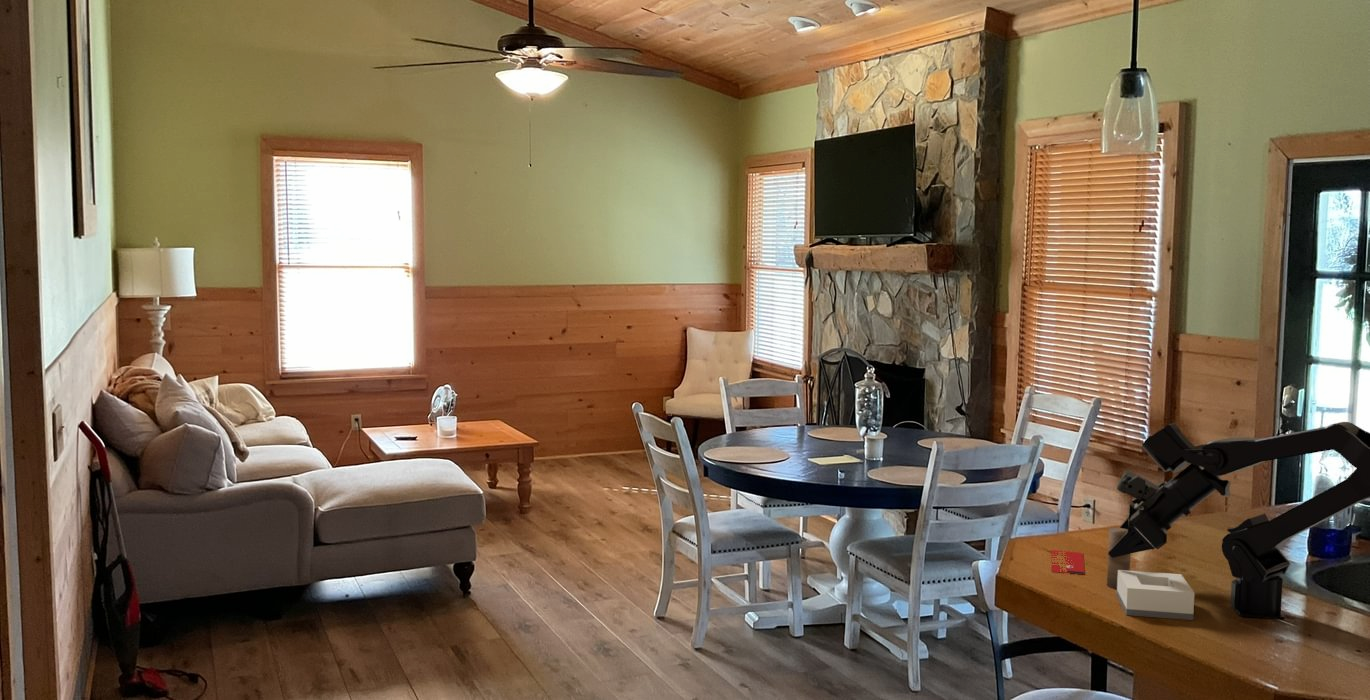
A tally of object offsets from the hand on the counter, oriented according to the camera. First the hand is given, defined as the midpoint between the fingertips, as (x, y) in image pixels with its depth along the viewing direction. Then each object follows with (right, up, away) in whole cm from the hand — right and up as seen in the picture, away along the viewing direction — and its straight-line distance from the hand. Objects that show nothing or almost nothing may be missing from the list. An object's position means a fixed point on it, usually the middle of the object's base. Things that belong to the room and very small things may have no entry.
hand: (1110, 548), depth 188 cm
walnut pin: (+1, -7, 0) cm, 7 cm away
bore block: (+3, -8, -11) cm, 14 cm away
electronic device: (-3, -6, +14) cm, 16 cm away
